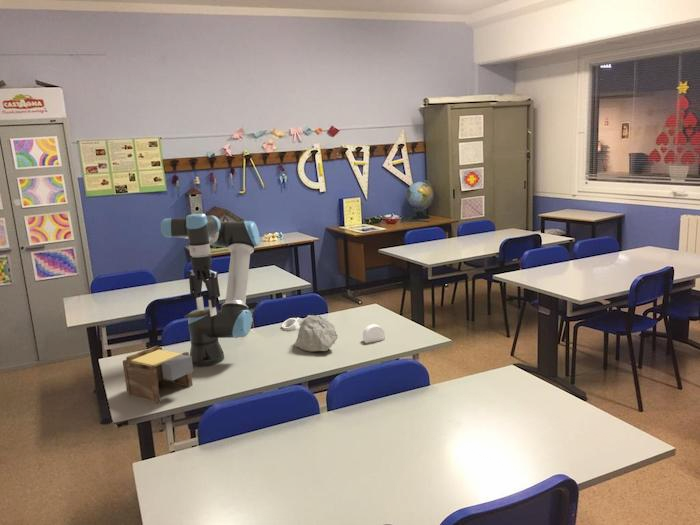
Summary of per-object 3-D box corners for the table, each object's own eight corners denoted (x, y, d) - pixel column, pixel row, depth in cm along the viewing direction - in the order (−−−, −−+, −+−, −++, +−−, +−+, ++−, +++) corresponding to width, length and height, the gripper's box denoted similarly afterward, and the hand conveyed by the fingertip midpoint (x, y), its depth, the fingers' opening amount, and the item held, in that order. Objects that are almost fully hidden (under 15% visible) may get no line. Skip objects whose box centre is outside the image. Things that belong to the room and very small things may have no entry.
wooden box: (163, 379, 234) (159, 344, 231) (192, 386, 224) (188, 350, 222) (127, 395, 220) (122, 358, 217) (156, 403, 210) (151, 365, 208)
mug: (296, 344, 285) (288, 329, 281) (286, 341, 291) (278, 326, 287) (312, 329, 292) (305, 314, 287) (302, 326, 298) (294, 312, 294)
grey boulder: (343, 349, 256) (341, 317, 253) (325, 359, 246) (322, 325, 243) (305, 342, 269) (303, 311, 267) (286, 350, 259) (284, 319, 256)
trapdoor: (160, 362, 229) (158, 347, 228) (196, 370, 218) (194, 355, 217) (133, 373, 218) (130, 358, 217) (169, 382, 207) (167, 366, 206)
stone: (188, 319, 211) (186, 313, 211) (182, 321, 215) (181, 315, 215) (219, 312, 220) (217, 306, 220) (213, 314, 224) (211, 308, 224)
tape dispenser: (376, 340, 274) (374, 318, 272) (392, 351, 257) (391, 328, 255) (357, 344, 270) (356, 322, 268) (372, 355, 254) (371, 332, 252)
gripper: (175, 256, 216) (182, 315, 221) (211, 258, 207) (218, 319, 211) (189, 252, 223) (196, 309, 227) (226, 254, 213) (232, 314, 218)
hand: (207, 314), depth 219 cm, fingers closed on stone, 6 cm apart
